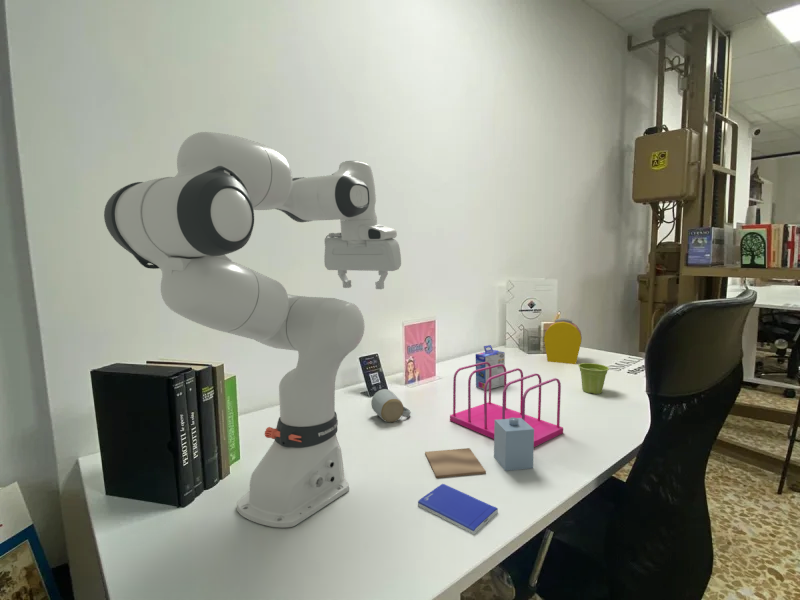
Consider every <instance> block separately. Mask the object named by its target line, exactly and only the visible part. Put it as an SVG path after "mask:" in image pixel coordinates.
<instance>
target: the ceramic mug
mask: <svg viewBox="0 0 800 600" xmlns="http://www.w3.org/2000/svg"><path fill="white" fill-rule="evenodd" d="M371 409H372V411H373V412H375V414H377V416H379V418H380V419H382V420H383V421H384V422H387V423H395V422H397V421H399V420H400V419H401V417H405V418H409V417H410V415H411V413H412V411H411V409H409V408H407V407H405V406H404V404H403V402H402V401H401V399H400V398H398V396H397V395H395V394H394V392H393V391H391V390H390V389H387V388H383V389H380V390H378V391H376V392H375V393H374V394H373V396H372V398H371Z"/></svg>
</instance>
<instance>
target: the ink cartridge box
mask: <svg viewBox="0 0 800 600" xmlns="http://www.w3.org/2000/svg"><path fill="white" fill-rule="evenodd" d="M488 348H489V349H488ZM483 349H484V351H483V352H478V353H476V354H475V364H478V363H482V362H488V363H490V365H491V366H494V365H498V364H503V365H504V366H505V367H506V364H505V363H506V362H505V361H506V354H505V352H504V351H501V350H498V349H497V350H496V349H493V347H492V345H490V344H489V345H484V346H483ZM486 367H489V366H488V364H483V365H478V366H475V370H478V369H482V368H486ZM501 373H504V368H503V367H502V366H499V367H495V368H491V377H492V376H495V375H498V374H501ZM488 379H489V369H487V370H483V371H479V372H476V373H475V387H476V388H478V389H480V388H481V390H483V391H484V386H485V383H486V381H487V380H488ZM502 386H503V387H504V375H502V376H500V377H497V378H494V379H492V380H491V390H492V389H495V388H500V387H502ZM487 391H489V383H488V385H487Z"/></svg>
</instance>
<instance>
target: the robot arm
mask: <svg viewBox="0 0 800 600" xmlns="http://www.w3.org/2000/svg"><path fill="white" fill-rule="evenodd" d="M176 169H177V174H176V175H175V176H166V177H159V178H154V179H153V178H152V179H149V180H146V181H137V182H132V183H130V184H127V185H125V186H123V187H121V188H119V189H118V190H117V191H116V192H114V193H113V194H112V195H111V196H110V197H109V198H108V200H107V202H106V204H105V206H104V207H105V208H104V212H103V219H104V223H105V227H106V229H107V231H108V232H109V235H110V236H111V237H112V238H113V240H114V241H115V242H116V243H117V244H118V245H119V246H120V247H122V249H124V250H126V252H129V253H130V254H131V255H132V256H133V257H134V258H135V259H136V261H138V262H139V264H140V265H141V266H142V267H144V268H147V269H153V270H154V269H155V270H156V269H157V270H158V269H160V270H161V273H162V275H161V276H162V277H161V281H160V294H161V299H162V300H163V302H164V304H165V305H166V306H167V307H168V308H169V309H170V310H171V311H173V312H174V313H176V314H178V315H179V316H181V317H183V318H185V319H187V320H189V321H191V322H193V323H196V324H198V325H200V326H204V327H206V328H209V329H213V330H216V331H220V332H223V333H227V334H230V335H235V336H238V337H243V338H246V339H250V340H254V341H256V342H258V343H260V344H262V345H265V346H268V347H271V348H275V349H280V350H286V351H287V350H288V351H294V352H298V360H297V363H296V366H295V368H293V369H291V370H289V371H288V372H287V373H286V374H285V375H283V376H282V378H281V379H280V382H279V385H278V397H279V398H278V399H279V417H278V420H277V422H276V423H277V424H276V427H275V428H273V427H270V426H268V427H266V428H265V431H264V434H263V435H264V437H265V438H266V439H273V440H274V441H273V442H272V444H271V445H270V447H269V448H268V450H267V451H266V453H265V454H264V455H263V457H262V458H261V460H260V461H259V463H258V464H257V466H256V467H255V469H254V470H253V471H252V473H251V476H250V481H249V490H248V491H247V493H245V494H244V495H242V497H241V498H240V499H239V500H238V501H237V502H236V510H237V512H238V514H240V516H241V517H243V518H245V519H247V520H249V521H251V522H254V523H255V524H260V525H262V526H266V527H270V528H271V527H272V528H292V527H295V526H296V525H299V524H300V523H302V522H303V521H304V520H306V519H308V518H309V517H311V516H313V515H314V514H315V513H317V512H318V511H320V510H321V509H323V508H325V507H326V506H327V505H329V504H331V503H332V502H333V501H335V500H337V499H338V498H340V497H341V496H343V495H344V494H346V493H348V492H349V491H350V485H349V483H348V481H347V480H346V477H345V470H344V461H343V453H342V449H341V448H342V447H341V446H340V443H339V440H338V438H337V437H338V436H337V432H338V424H339V420H338V413H337V412H336V411H335V410H336V408H335V406H336V405H335V404H336V403H335V401H336V399H335V398H336V397H335V396H336V395H335V394H336V379H337V375H338V371H339V369H340V366H341V364H342V362H343V361H344V359H345V358H346V356H348V355H349V354H350V353H351V352H353V351H354V350H355V349H356V348H357V347H358V346H359V344H360V343H361V341H362V339H363V336H364V334H365V319H364V315H363V314H362V311H361V310H360V308H359V307H358V306H357V305H356V304H355V303H352V302H349V301H346V300H342V299H338V298H336V297H321V296H319V297H318V296H317V297H316V296H305V295H304V296H303V295H293V294H289V293H288V292H287V290H286V288H285V286H284V285H283V284H281V282H279V281H277V280H276V279H273V278H272V277H269V276H267V275H265V274H262V273H260V272H258V271H255V270H254V269H252V268H249V267H247V266H245V265H243V264H240V263H237V262H234V261H232V259H231V258H230V257H228V256H227V255H228V254H232V253H234V252H237V251H239V250H240V249H242V248H244V247H245V246H246V245H247V244H248V242H249V241H250V239H251V236H252V234H253V229H254V226H255V211H270V210H278V211H280V212H282V213H284V214H285V215H287V216H288V217H289V218H291V219H292V220H293V221H295V222H296V223H306V222H307V223H308V222H313V221H314V222H315V221H316V222H317V221H334V220H335V221H336V220H340V221H339V222H340V232H330V233H328V235H325V237H324V256H323V257H324V267H325V268H326V270H327V271H337V275H338V277H339V279H340V280H341V281H342V287H343V289H350V288H351V287H352V280H350V279H349V278H348V276H347V274H348V271H362V272H363V271H367V272H368V271H370V272H371V271H372V272H377V273H378V276H380V277H379V279H378V281H375V289H376V290H384V288H385V280H386V279H387V276H388V274H389V273H388V272H395V271H398V270H399V269H400V268H401V266H402V255H401V248H400V244H399V242H398V241H397V240H396V239H395V238H397V236H398V235H397V232H398V231H397V230H396V229H395V228H392V227H389V226H386V225H383V224H380V223H378V217H377V213H376V201H377V197H376V196H377V195H376V187H375V186H376V185H375V180H374V174H373V170H372V167H371V166H370V165H369V164H367V163H366V162H364V161H360V160H359V161H357V160H346V161H343V162H341V163H340V164H339V165H338V170H337V171H335V172H334V173H331V174H328V175H319V176H318V175H317V176H310V177H309V176H308V177H304V176H303V177H293V173H292V169H291V166H290V164H289V163H288V160H287V158H286V157H285V156H284V155H282V154H281V153H280V152H278V151H277V150H276V149H274V148H272V147H270V146H268V145H266V144H264V143H260V142H258V141H254V140H251V139H248V138H244V137H240V136H237V135H232V134H229V133H228V134H227V133H220V132H209V131H199V132H196V133H193V134H191V135H189V136H188V137H187V138H185V140H183V142H182V144H181V145H180V147H179V149H178V153H177V158H176Z"/></svg>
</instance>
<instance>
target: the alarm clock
mask: <svg viewBox="0 0 800 600" xmlns="http://www.w3.org/2000/svg"><path fill="white" fill-rule="evenodd" d="M543 341H544V347H545V354H546V360H547V361H546V362H549V363H557V364H558V363H560V364H569V365H577V361H578V357H579V354H580V353H579V352H580V348H581V345H582V332H581V330H580V328H579V327H578V325H577V324H575V323H574V322H573V320H571V319H569V318H557V319H555V321H554V322H552V323H550V325H549V326H548V327H547V329H546V330H545V332H544V337H543Z"/></svg>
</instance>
